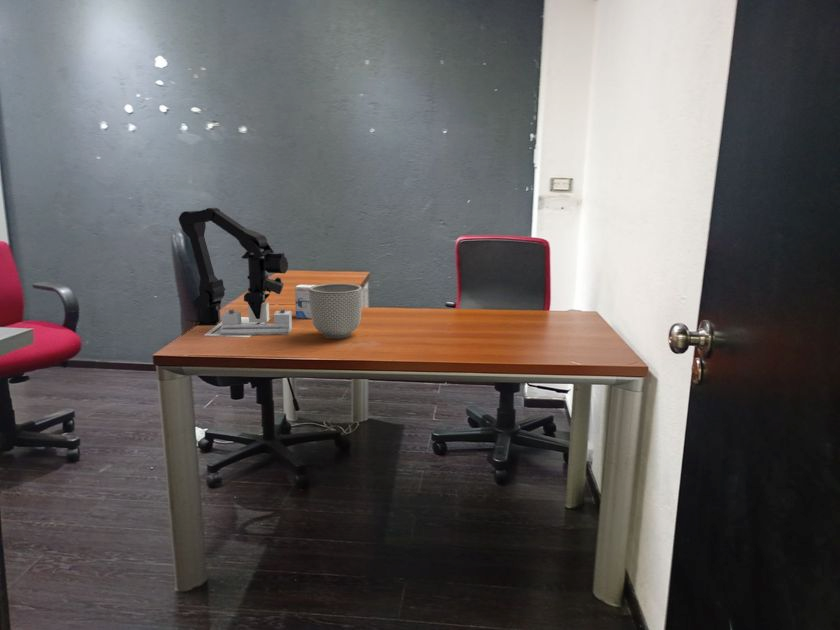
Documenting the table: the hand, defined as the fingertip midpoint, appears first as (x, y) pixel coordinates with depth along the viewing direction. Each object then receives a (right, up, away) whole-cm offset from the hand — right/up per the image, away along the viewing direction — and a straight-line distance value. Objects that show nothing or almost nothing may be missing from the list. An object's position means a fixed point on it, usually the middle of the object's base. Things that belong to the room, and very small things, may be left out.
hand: (259, 317), depth 213 cm
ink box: (+14, 0, +17) cm, 22 cm away
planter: (+28, -6, -10) cm, 30 cm away
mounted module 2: (+9, -4, -3) cm, 10 cm away
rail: (+1, -6, -8) cm, 10 cm away
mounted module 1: (-8, -5, -4) cm, 10 cm away
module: (0, -1, 0) cm, 1 cm away
